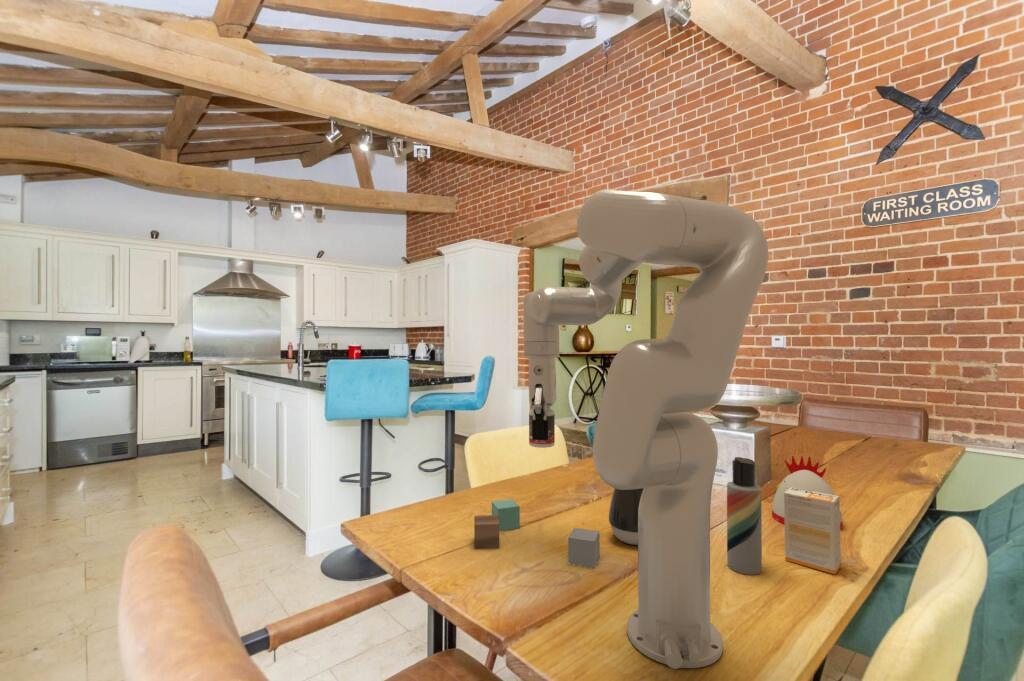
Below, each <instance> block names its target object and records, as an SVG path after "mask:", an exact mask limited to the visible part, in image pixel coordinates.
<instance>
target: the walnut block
mask: <svg viewBox="0 0 1024 681" xmlns="http://www.w3.org/2000/svg"><path fill="white" fill-rule="evenodd" d="M473 522H474V526H473V527H474V528H473V529H474V533H473V534H474V535H473V536H474V538H473V539H474V542H473V543H474V548H473V549H474V550H485V549H486V550H487V549H488V550H490V549H491V550H492V549H493V550H494V549H500V531H499V518H498V515H492V514H487V515H486V514H484V515H483V514H482V515H480V514H479V515H474V521H473Z"/></svg>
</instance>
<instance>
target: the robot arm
mask: <svg viewBox="0 0 1024 681" xmlns="http://www.w3.org/2000/svg"><path fill="white" fill-rule="evenodd" d="M577 215H578V216H577V218H576V231H577V235H578V238H579V239H580V241H581V243H583V245H584V247H583V248H582V250H581V251H580V254H579V257H578V265H579V268H580V271H581V273H582V275H583V277H584V278H585V280H587V281H588V282H589V283H590V284H591V285H590V286H588V287H575V286H574V287H572V286H554V285H553V286H543V287H541V288H539V289H538V290H536V291H530V292H527V293H526V294H524V296H523V358H527V359H528V401H529V404H530V405H531V406H532V409H533V420H532V439H533V440H548V420H547V404H550V407H552V406H554V405H555V403H557V400H558V399H557V372H556V371H557V370H556V359H555V358H560V326H589V325H593V324H596V323H597V322H599V321H600V320H603V318H604V317H606V316H607V315H608V314H609V313H611V312H612V311H613V310H614V309H615V307H616V306H617V305H618V303H619V301H620V298H621V295H622V294H621V293H622V288H623V287H622V286H623V284H622V281H623V280H624V279H625V278H627V277H628V276H629V275H630V274H631V273H632V272H634V271H635V270H636V269H637V268H638V267H639V266H641V265H642V264H653V265H664V266H676V267H687V268H688V267H689V268H690V267H691V268H696V269H698V270H699V274H698V275H697V276H696V277H695V278H694V279H693V280H692V281H691V283H690V284H689V285H688V286H687V288H686V289H685V290H684V292H683V293H682V294H681V296H680V299H679V301H678V303H677V305H676V307H675V308H676V309H675V310H674V311H675V312H674V317H673V320H672V323H671V327H670V329H669V331H668V334H667V336H666V337H664V338H644V339H637V340H634V341H631V342H629V343H627V344H626V345H624V346H623V347H622V348H621V349H620V350H619V351H618V352H617V353H616V355H615V356H614V357H613V359H612V361H611V364H610V365H609V366H610V367H609V369H608V372H607V376H606V380H605V384H604V389H603V393H602V397H601V403H600V407H599V412H598V416H597V420H596V424H595V429H594V434H593V439H592V440H593V441H592V458H593V465H594V467H595V469H596V470H595V471H596V473H597V474H598V477H600V480H602V482H603V483H605V484H606V485H607V486H609V487H610V488H613V489H614V488H616V489H620V490H632V489H640V488H644V489H643V492H642V495H641V498H640V503H639V509H638V545H637V571H638V572H637V580H638V581H637V585H638V586H637V587H638V588H637V591H638V592H637V593H638V594H637V595H638V596H637V597H638V598H637V604H638V606H637V608H638V609H637V610H636V611H634V612H633V613H632V614H630V615H629V617H628V619H627V622H626V633H627V637H628V639H629V641H630V642H631V644H632V645H633V646H634V647H635V649H637V650H638V651H639V652H640V653H642V654H643V655H645V656H646V657H648V658H650V659H651V660H653V661H656V662H658V663H661V664H664V665H667V666H668V667H670V668H671V669H675V670H677V669H680V668H683V669H698V668H703V667H707V666H710V665H712V664H714V663H715V662H716V661H717V662H718V660H719V659H720V658H721V656H722V655H723V654H722V653H723V650H724V648H723V647H724V643H723V642H724V640H723V636H722V634H721V633H720V631H719V629H718V628H717V627H716V626H715V625H714V624H713V623H712V622H711V504H712V503H711V502H712V490H713V485H714V480H715V473H716V469H717V464H718V457H719V456H718V454H719V453H718V452H719V447H718V441H717V436H716V434H715V432H714V431H713V429H712V427H711V426H710V424H709V423H708V422H707V421H706V420H705V419H703V418H702V417H700V416H698V415H696V414H694V413H692V412H695V411H702V410H707V409H710V408H712V407H714V406H715V405H717V404H718V403H719V402H720V401H721V400H722V398H723V397H724V395H725V392H726V390H727V388H728V384H729V382H730V377H731V374H732V372H733V368H734V364H735V361H736V358H737V355H738V352H739V350H740V347H741V342H742V339H743V337H744V332H745V329H746V325H747V322H748V319H749V317H750V316H749V315H750V314H751V310H752V308H753V306H754V303H755V300H756V298H757V297H758V296H757V295H758V293H759V291H760V289H761V286H762V284H763V281H764V278H765V275H766V272H767V268H768V262H769V245H768V240H767V237H766V234H765V233H764V230H763V229H762V227H761V225H760V224H759V223H758V221H757V220H756V219H754V218H753V217H752V216H751V215H749V214H748V213H746V212H745V211H743V210H741V209H739V208H736V207H733V206H731V205H728V204H723V203H718V202H715V201H709V200H703V199H696V198H690V197H684V196H678V195H672V194H668V193H667V194H666V193H659V192H652V191H651V192H647V191H632V190H616V189H610V188H609V189H607V188H606V189H605V188H604V189H601V190H599V191H596V192H594V193H593V194H592V195H590V196H589V197H588V198H587V199H586V200H585V201H584V203H583V204H582V206H581V208H580V209H579V212H578V214H577ZM532 399H533V401H532ZM541 402H545V405H542V404H541ZM543 408H544V410H543Z"/></svg>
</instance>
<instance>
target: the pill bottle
mask: <svg viewBox="0 0 1024 681" xmlns="http://www.w3.org/2000/svg"><path fill="white" fill-rule="evenodd" d="M532 401H533V399H532ZM541 404H542V405H545V402H541ZM543 410H544V408H543ZM555 416H556V415H555V411H554V409H552V408H551V406H550V404H547V420H548V440H533V439H532V420H533V408H531V409H530V410H529V413H528V444H529V446H531V447H533V448H540V449H542V448H543V449H544V448H551V447H554V446H555V441H556V440H555V432H556V431H555V424H556V423H555V420H556V418H555Z"/></svg>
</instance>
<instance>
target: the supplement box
mask: <svg viewBox="0 0 1024 681" xmlns="http://www.w3.org/2000/svg"><path fill="white" fill-rule="evenodd" d="M840 504H841V503H840V496H839V495H836V494H835V495H830V494H825V493H820V492H814V491H809V490H803V489H798V488H793V487H791V488H789V489H788V490H787V491H785V492H784V515H785V525H784V552H785V554H784V556H785V561H786V562H790V563H793V564H797V565H801V566H803V567H804V566H805V567H808V568H812V569H814V570H818V571H822V572H825V573H829V574H832V575H836V574H837V572H839V569H841V564H842V562H841V560H842V558H841V557H842V555H841V530H840V511H841V508H840Z"/></svg>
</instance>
